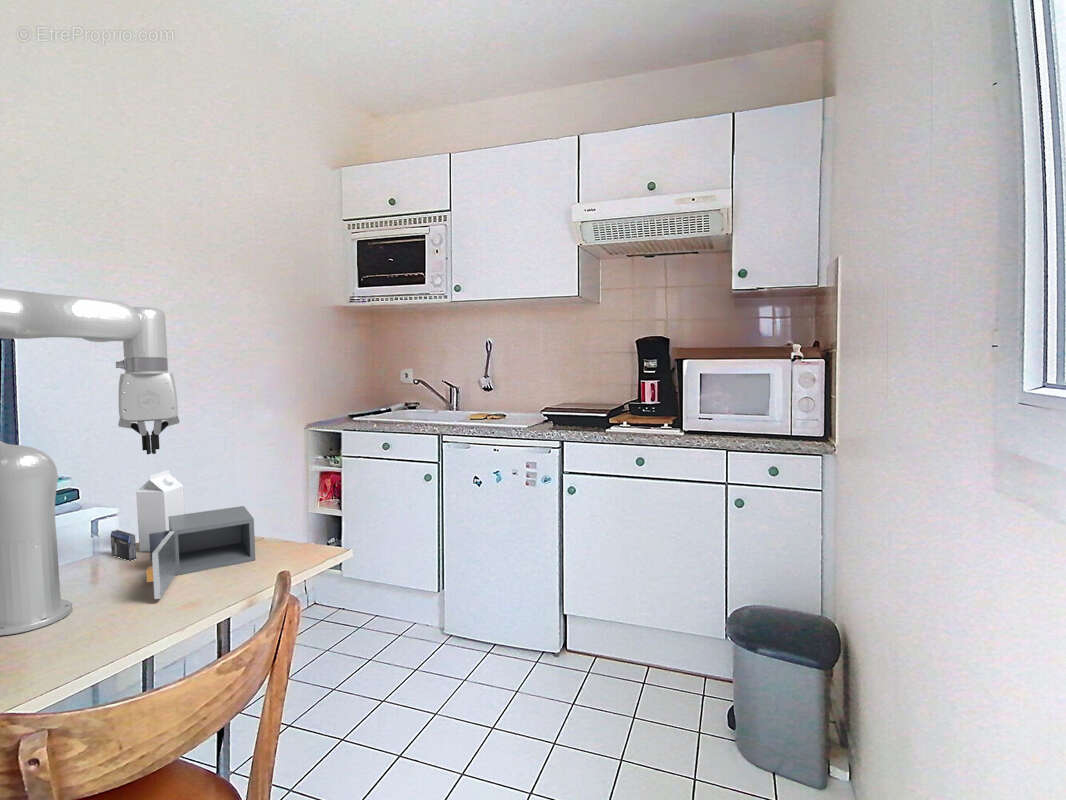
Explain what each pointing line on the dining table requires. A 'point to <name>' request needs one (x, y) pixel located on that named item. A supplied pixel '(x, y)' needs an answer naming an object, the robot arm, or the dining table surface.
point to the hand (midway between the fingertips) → (151, 453)
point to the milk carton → (158, 505)
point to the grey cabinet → (210, 539)
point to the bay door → (163, 565)
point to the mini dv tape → (123, 545)
